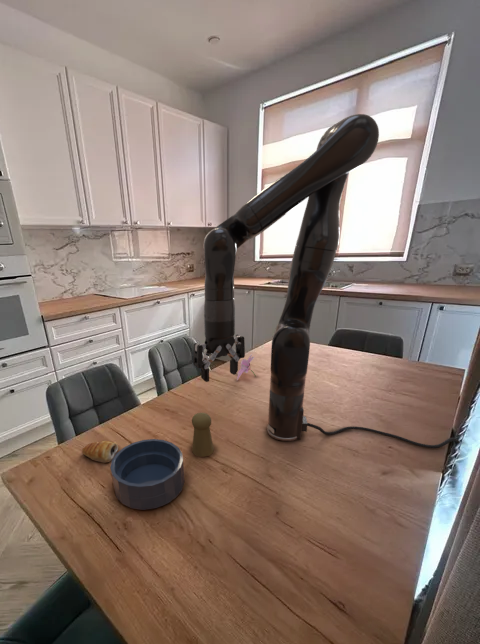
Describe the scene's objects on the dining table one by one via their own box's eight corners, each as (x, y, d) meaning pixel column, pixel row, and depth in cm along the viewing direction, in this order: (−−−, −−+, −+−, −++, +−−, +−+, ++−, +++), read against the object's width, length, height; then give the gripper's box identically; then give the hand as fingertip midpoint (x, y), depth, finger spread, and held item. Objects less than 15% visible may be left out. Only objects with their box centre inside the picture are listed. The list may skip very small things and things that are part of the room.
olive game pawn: (212, 457, 83) (211, 422, 79) (189, 455, 84) (187, 420, 80) (215, 444, 88) (214, 410, 84) (194, 442, 89) (192, 408, 85)
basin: (191, 465, 81) (190, 442, 78) (173, 516, 66) (171, 491, 63) (131, 457, 84) (128, 436, 82) (102, 505, 69) (97, 480, 67)
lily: (244, 371, 138) (234, 354, 134) (268, 365, 130) (258, 347, 127) (236, 389, 130) (225, 372, 126) (261, 384, 122) (250, 366, 118)
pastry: (78, 460, 84) (75, 448, 83) (90, 445, 90) (88, 434, 89) (110, 464, 82) (108, 452, 81) (120, 448, 88) (119, 437, 87)
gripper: (201, 324, 70) (203, 389, 77) (252, 315, 76) (250, 376, 83) (186, 318, 77) (189, 378, 83) (234, 310, 83) (233, 367, 89)
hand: (219, 377), depth 83 cm, fingers open, 8 cm apart
